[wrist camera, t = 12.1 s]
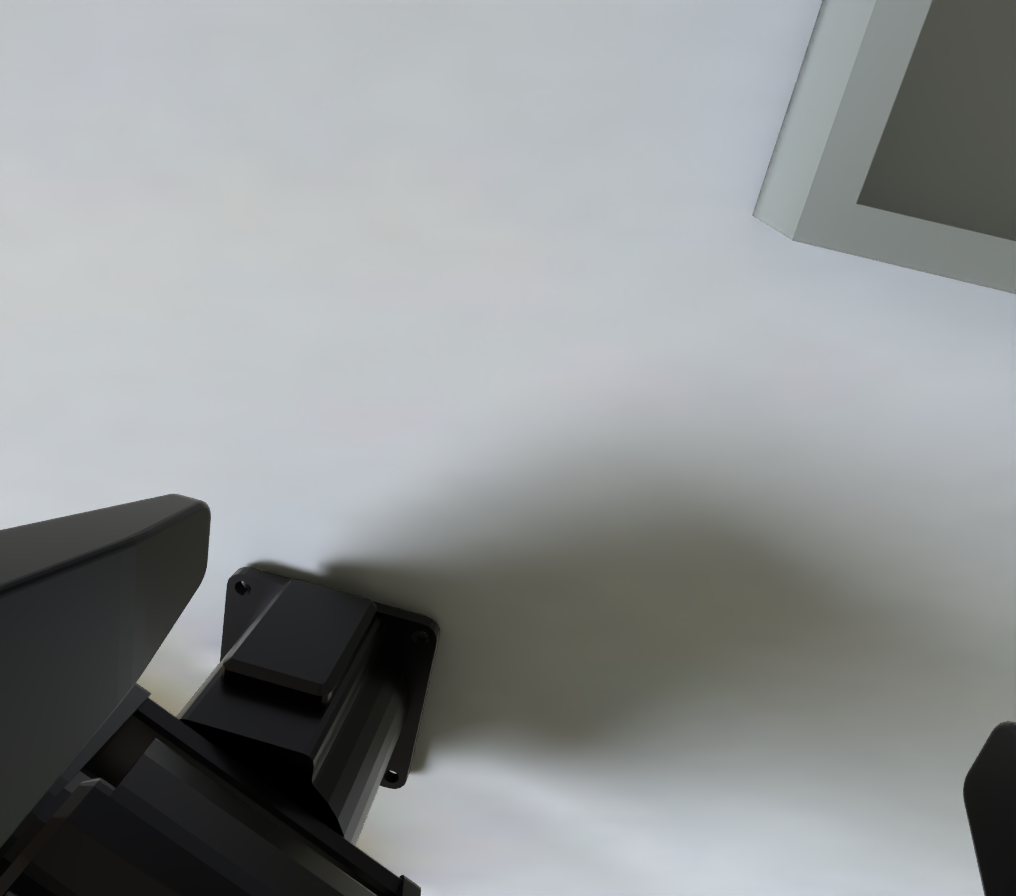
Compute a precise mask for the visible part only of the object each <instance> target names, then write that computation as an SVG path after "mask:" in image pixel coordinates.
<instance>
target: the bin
mask: <svg viewBox="0 0 1016 896" xmlns="http://www.w3.org/2000/svg"><path fill="white" fill-rule="evenodd" d="M753 216H754V217H756V218H757V219H759V220H761V221H762V222H764V223H765V224H767V225H769V226H770V227H772V228H773V229H775V230H777V231H778V232H780V233H781V234H783V235H785V236H786V237H788V238H789V239H791V240H793V241H797V242H801V243H806V244H810V245H814V246H818V247H822V248H826V249H831V250H835V251H839V252H843V253H847V254H851V255H856V256H860V257H864V258H868V259H872V260H876V261H881V262H885V263H889V264H893V265H897V266H901V267H906V268H910V269H914V270H918V271H922V272H926V273H931V274H935V275H939V276H943V277H947V278H951V279H955V280H960V281H964V282H968V283H972V284H976V285H980V286H985V287H989V288H993V289H997V290H1001V291H1005V292H1010V293H1014V294H1016V0H823V2H822V5H821V8H820V11H819V14H818V17H817V20H816V23H815V26H814V29H813V32H812V35H811V38H810V41H809V44H808V47H807V50H806V54H805V57H804V60H803V63H802V66H801V69H800V72H799V75H798V78H797V81H796V84H795V87H794V90H793V93H792V96H791V99H790V102H789V106H788V109H787V112H786V115H785V118H784V121H783V124H782V127H781V130H780V133H779V136H778V139H777V142H776V145H775V148H774V151H773V154H772V157H771V161H770V164H769V167H768V170H767V173H766V176H765V179H764V182H763V185H762V188H761V191H760V194H759V197H758V200H757V203H756V206H755V209H754V213H753Z"/></svg>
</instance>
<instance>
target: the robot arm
mask: <svg viewBox="0 0 1016 896" xmlns="http://www.w3.org/2000/svg"><path fill="white" fill-rule="evenodd" d="M210 521H211V513H210V508H209V506H208V505H207V503H206V502H204V501H201V500H197V499H194V498H190V497H186V496H183V495H179V494H169V495H164V496H159V497H154V498H150V499H145V500H140V501H136V502H131V503H126V504H121V505H117V506H112V507H107V508H103V509H98V510H93V511H88V512H84V513H79V514H74V515H70V516H65V517H60V518H55V519H51V520H46V521H41V522H37V523H32V524H27V525H23V526H18V527H13V528H8V529H4V530H0V896H421V888H420V887H419V886H418V885H417V884H415V883H414V882H412V881H411V880H410V879H408V878H407V877H405V876H404V875H402V876H400V877H398V876H397V875H395V874H394V873H392V872H391V871H390V870H388V869H387V868H385V867H384V866H383V865H381V864H380V863H379V862H377V861H376V860H374V859H373V858H372V857H370V856H369V855H367V854H366V853H365V852H363V851H362V850H360V849H359V848H358V847H356V846H355V845H356V843H357V840H358V838H359V835H360V833H361V830H362V828H363V825H364V823H365V820H366V818H367V815H368V813H369V810H370V808H371V805H372V803H373V800H374V798H375V795H376V793H377V790H378V788H379V785H380V786H383V787H387V788H392V789H397V788H401V787H402V786H404V784H405V783H406V780H407V778H408V775H409V772H410V768H411V763H412V759H413V754H414V750H415V745H416V741H417V736H418V732H419V727H420V723H421V718H422V713H423V709H424V704H425V700H426V695H427V691H428V686H429V682H430V677H431V673H432V668H433V664H434V659H435V655H436V650H437V646H438V641H439V637H440V629H439V626H438V624H437V623H436V622H435V621H434V620H433V619H431V618H429V617H426V616H423V615H419V614H416V613H412V612H408V611H405V610H401V609H398V608H394V607H390V606H387V605H383V604H380V603H376V602H372V601H371V600H369V599H366V598H362V597H358V596H355V595H351V594H348V593H344V592H340V591H337V590H333V589H330V588H326V587H322V586H319V585H315V584H312V583H308V582H304V581H301V580H297V579H289V578H286V577H282V576H278V575H275V574H271V573H268V572H264V571H260V570H257V569H253V568H248V567H243V568H240V569H238V570H237V571H236V572H235V573H234V574H233V575H232V576H231V577H230V578H229V580H228V583H227V591H226V602H225V613H224V624H223V635H222V646H221V658H220V663H219V664H218V666H217V667H216V668H215V669H214V671H213V672H212V673H211V674H210V676H209V677H208V678H207V679H206V681H205V682H204V683H203V684H202V686H201V687H200V688H199V689H198V691H197V692H196V693H195V694H194V696H193V697H192V698H191V699H190V701H189V702H188V703H187V704H186V705H185V707H184V708H183V709H182V710H181V712H180V713H179V714H178V715H177V717H175V716H174V715H173V714H171V713H170V712H168V711H167V710H166V709H164V708H163V707H161V706H160V705H159V704H157V703H156V702H154V701H153V700H152V699H150V698H149V696H150V695H151V693H150V692H148V691H147V690H146V689H144V688H143V687H141V686H140V685H139V684H137V683H136V682H137V680H138V679H139V677H140V676H141V675H142V673H143V672H144V670H145V669H146V667H147V666H148V664H149V662H150V661H151V659H152V658H153V656H154V655H155V653H156V652H157V650H158V649H159V647H160V646H161V644H162V643H163V641H164V639H165V638H166V636H167V635H168V633H169V632H170V630H171V629H172V627H173V626H174V624H175V623H176V621H177V620H178V618H179V616H180V615H181V613H182V612H183V610H184V609H185V607H186V606H187V604H188V603H189V601H190V600H191V598H192V597H193V595H194V593H195V592H196V590H197V589H198V587H199V586H200V584H201V582H202V580H203V578H204V575H205V572H206V568H207V561H208V548H209V535H210ZM241 581H244V582H246V583H248V584H249V586H250V587H251V589H248V588H246V587H244V586H243V584H242V582H241ZM416 631H423V632H425V633H426V634H427V635H428V637H427V638H426V637H421V636H419V635H418V634H417V633H416ZM389 770H391V771H394V772H396V773H397V774H395V773H392V772H390V771H389ZM963 796H964V803H965V808H966V812H967V817H968V821H969V826H970V831H971V835H972V840H973V844H974V849H975V853H976V858H977V863H978V867H979V872H980V876H981V881H982V886H983V890H984V895H985V896H1016V722H1011V721H1007V722H1003V723H1000V724H999V725H997V726H996V727H995V728H994V730H993V731H992V733H991V734H990V736H989V738H988V739H987V741H986V743H985V745H984V746H983V748H982V750H981V751H980V753H979V755H978V756H977V758H976V760H975V762H974V763H973V765H972V767H971V768H970V770H969V772H968V774H967V776H966V779H965V782H964V788H963Z"/></svg>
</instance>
